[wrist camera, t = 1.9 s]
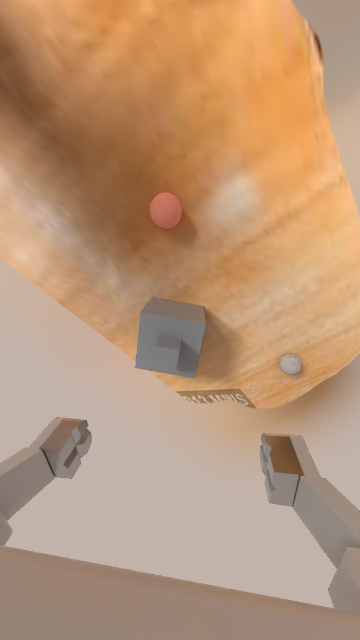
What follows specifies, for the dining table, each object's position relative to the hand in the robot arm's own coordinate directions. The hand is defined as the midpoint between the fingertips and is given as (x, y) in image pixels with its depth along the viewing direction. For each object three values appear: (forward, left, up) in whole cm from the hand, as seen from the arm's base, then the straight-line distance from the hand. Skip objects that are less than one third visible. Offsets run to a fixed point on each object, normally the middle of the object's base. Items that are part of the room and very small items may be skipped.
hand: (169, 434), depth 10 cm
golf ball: (+23, -11, -32) cm, 41 cm away
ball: (-5, +12, -29) cm, 32 cm away
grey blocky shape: (-1, -8, -32) cm, 33 cm away
